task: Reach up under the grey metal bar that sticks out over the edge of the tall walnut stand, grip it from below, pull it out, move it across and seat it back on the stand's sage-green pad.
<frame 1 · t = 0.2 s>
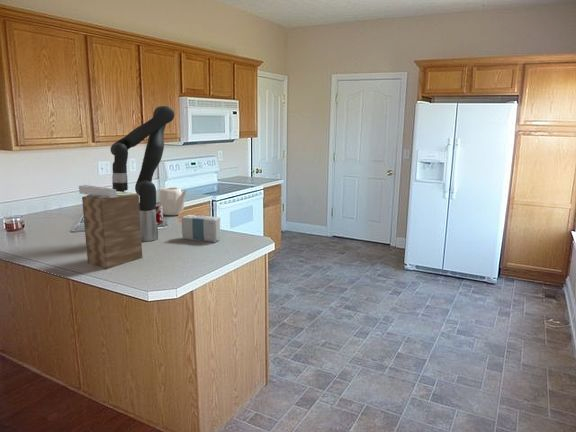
hand: (120, 211, 238), 18 cm above the counter, tool pointing down, fingers open, 8 cm apart
soda can: (157, 223, 289), on the counter
cream teapot: (173, 214, 316), on the counter
bar: (97, 195, 203), point 32 cm above the counter, touching stand
white banded box: (201, 240, 251), on the counter
stand: (115, 260, 212), on the counter
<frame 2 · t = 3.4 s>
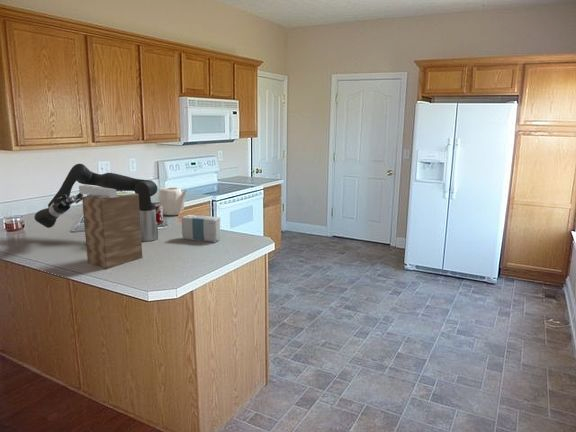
hand: (74, 195, 225), 28 cm above the counter, tool pointing upward, fingers open, 8 cm apart
nothing on the counter moved.
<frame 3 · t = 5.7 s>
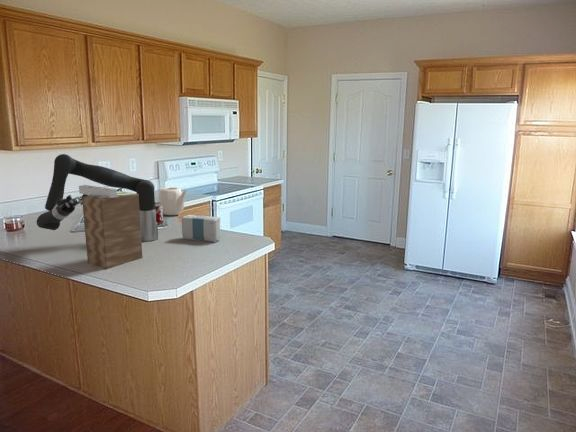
hand: (78, 195, 210), 30 cm above the counter, tool pointing upward, fingers open, 8 cm apart
nothing on the counter moved.
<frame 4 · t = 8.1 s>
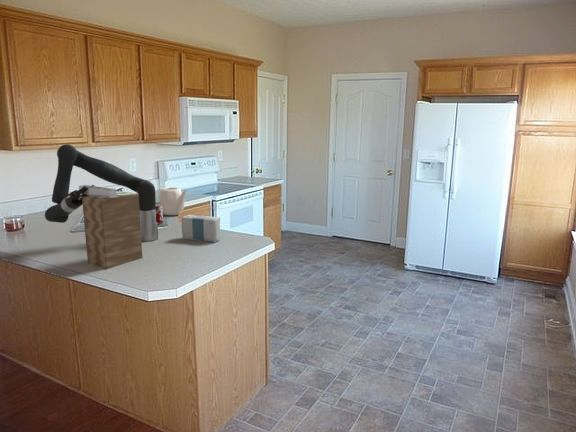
hand: (90, 187, 205), 35 cm above the counter, tool pointing upward, fingers closed on bar, 3 cm apart
bar: (97, 195, 203), point 32 cm above the counter, touching gripper, stand
everything else where it was.
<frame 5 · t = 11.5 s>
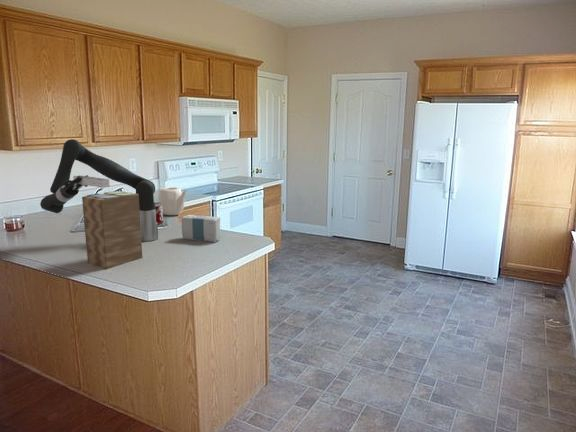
hand: (84, 177, 213), 39 cm above the counter, tool pointing upward, fingers closed on bar, 3 cm apart
bar: (91, 185, 211), point 35 cm above the counter, touching gripper
everything else where it was.
when the fingers open (36 cm above the counter, at t = 15.1 s): bar stays where it is, resting on stand.
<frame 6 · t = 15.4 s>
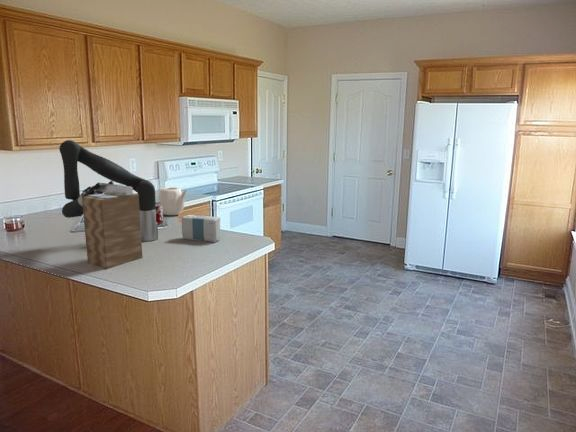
hand: (106, 183, 213), 36 cm above the counter, tool pointing upward, fingers open, 6 cm apart
bar: (114, 192, 211), point 32 cm above the counter, touching stand
everything else where it was.
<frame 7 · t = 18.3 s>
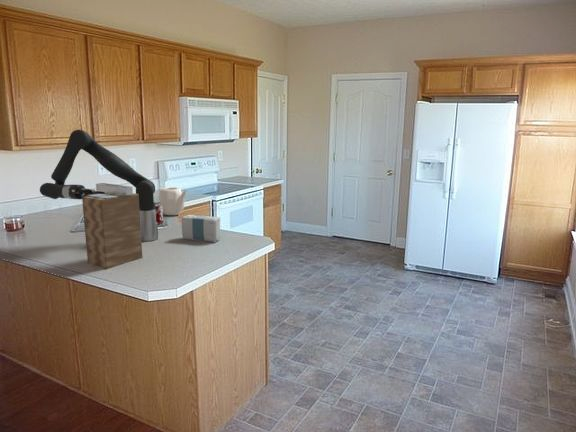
hand: (98, 192, 221), 30 cm above the counter, tool horizontal, fingers open, 8 cm apart
nothing on the counter moved.
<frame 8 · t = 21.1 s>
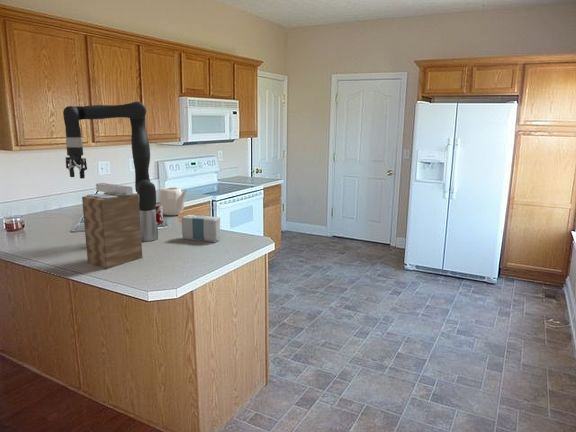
hand: (77, 177, 230), 36 cm above the counter, tool pointing down, fingers open, 8 cm apart
nothing on the counter moved.
at the end: bar inside the target area (0.1 cm from its centre), point 32.0 cm above the counter; the gripper is holding nothing; bar tilted 0° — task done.
